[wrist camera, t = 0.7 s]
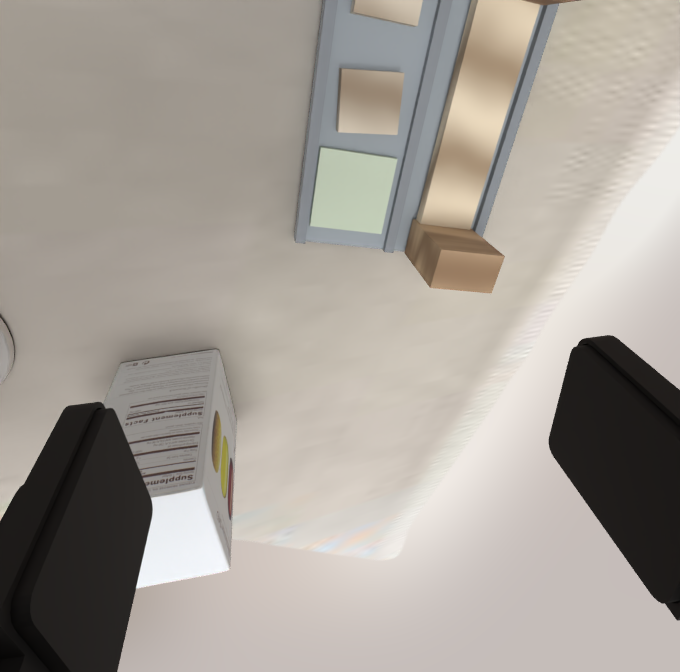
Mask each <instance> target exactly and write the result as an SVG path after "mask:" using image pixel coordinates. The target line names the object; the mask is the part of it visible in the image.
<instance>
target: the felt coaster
mask: <svg viewBox="0 0 680 672" xmlns="http://www.w3.org/2000/svg"><path fill="white" fill-rule="evenodd" d="M397 160H398V159H397V158H395V157H388V156H382V155H375V154H369V153H362V152H356V151H349V150H342V149H336V148H329V147H323V146H320V149H319V156H318V163H317V171H316V178H315V185H314V193H313V200H312V207H311V214H310V222H309V225H310V226H314V227H323V228H331V229H340V230H349V231H358V232H367V233H375V234H381V233H382V229H383V224H384V219H385V215H386V210H387V206H388V201H389V196H390V192H391V187H392V183H393V178H394V173H395V169H396V164H397Z"/></svg>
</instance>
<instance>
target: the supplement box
mask: <svg viewBox="0 0 680 672" xmlns="http://www.w3.org/2000/svg"><path fill="white" fill-rule="evenodd" d="M103 405H104V406H105V408H113V409H114V410H115V412H116V414H117V417H118V419H119V421H120V424H121V426H122V429H123V431H124V434H125V436H126V438H127V441H128V443H129V446H130V448H131V451H132V453H133V456H134V458H135V460H136V463H137V465H138V468H139V470H140V473H141V475H142V477H143V480H144V482H145V485H146V487H147V490H148V492H149V494H150V497H151V500H152V506H153V513H152V520H151V524H150V529H149V533H148V537H147V542H146V546H145V551H144V555H143V559H142V564H141V568H140V573H139V577H138V581H137V586H136V588H142V587H147V586H152V585H157V584H162V583H167V582H173V581H178V580H183V579H188V578H194V577H200V576H205V575H211V574H215V573H220V572H224V571H228V570H229V569H230V560H231V538H232V515H233V493H234V471H235V451H236V430H237V420H236V416H235V412H234V408H233V404H232V400H231V395H230V391H229V387H228V384H227V379H226V375H225V371H224V367H223V363H222V359H221V355H220V352H219V350H218V349H214V350H207V351H200V352H193V353H186V354H179V355H172V356H166V357H159V358H152V359H145V360H138V361H131V362H125V363H121V364H120V366H119V368H118V371H117V373H116V375H115V378H114V380H113V383H112V385H111V387H110V390H109V392H108V394H107V396H106V399H105V401H104V403H103Z"/></svg>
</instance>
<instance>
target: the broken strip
mask: <svg viewBox="0 0 680 672" xmlns="http://www.w3.org/2000/svg"><path fill="white" fill-rule="evenodd" d="M422 2H423V0H352V4H351V11H350V13H352V14H356V15H361V16H365V17H370V18H374V19H379V20H384V21H388V22H393V23H397V24H402V25H406V26H411V27H415V26H418V21H419V17H420V12H421V7H422ZM404 74H405V73H402V72H391V71H376V70H362V69H347V68H339V81H338V100H337V118H336V131H337V132H340V133H363V134H385V135H397V134H398V125H399V116H400V108H401V99H402V91H403V82H404Z"/></svg>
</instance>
